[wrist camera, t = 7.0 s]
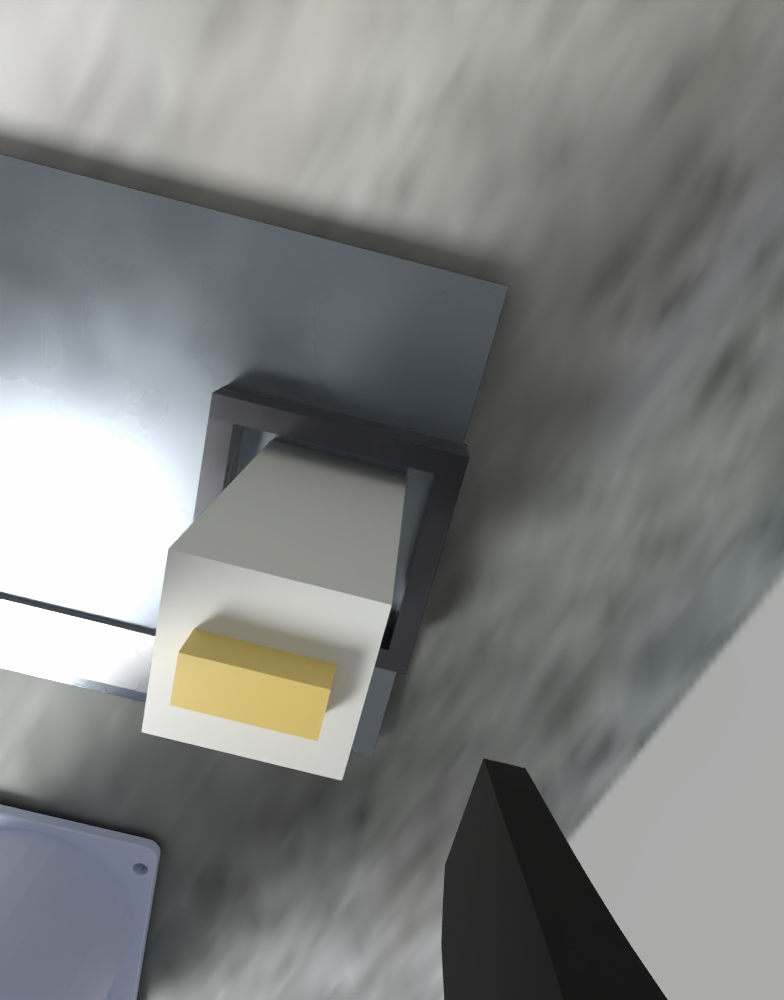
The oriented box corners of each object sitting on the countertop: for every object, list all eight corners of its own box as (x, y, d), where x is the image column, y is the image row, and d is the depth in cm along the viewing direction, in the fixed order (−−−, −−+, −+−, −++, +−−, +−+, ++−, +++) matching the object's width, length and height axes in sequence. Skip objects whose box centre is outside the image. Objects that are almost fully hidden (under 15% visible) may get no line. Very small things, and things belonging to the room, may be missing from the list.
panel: (377, 739, 21) (372, 786, 19) (-325, 571, 20) (-404, 602, 18) (508, 286, 16) (519, 288, 14) (-401, 50, 15) (-517, 19, 14)
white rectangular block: (374, 595, 18) (337, 812, 11) (247, 563, 18) (123, 760, 11) (407, 474, 17) (388, 628, 10) (271, 440, 17) (149, 567, 10)
